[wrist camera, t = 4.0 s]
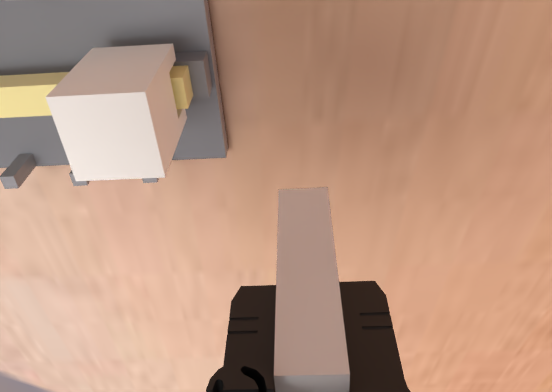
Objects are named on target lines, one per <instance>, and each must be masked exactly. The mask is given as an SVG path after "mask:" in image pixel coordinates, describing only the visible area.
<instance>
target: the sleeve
mask: <svg viewBox="0 0 552 392" xmlns="http://www.w3.org/2000/svg"><path fill="white" fill-rule="evenodd" d="M175 60H176V57H175V52H174V46H173V43H172V44H155V45H137V46H120V47H103V48H92V49H91V50H90V51H89V52H88V53H87V54H86V55H85V56H84V57H83V58H82V59H81V60H80V61H79V62H78V63H77V65H76V66H75V67H74V68H73V69H72V70H71V71H70V72H69V73H68V74H67V75H66V76H65V77H64V78H63V79H62V80H61V81H60V82H59V83H58V84H57V85H56V87H55V88H54V89H53V90H52V91H51V92H50V93H49V94H48V95H47V96H46V97H45V98H46V100H47V103H48V106H49V109H50V111H51V114H52V117H53V120H54V122H55V125H56V128H57V131H58V133H59V136H60V139H61V142H62V144H63V147H64V150H65V153H66V155H67V158H68V161H69V164H70V166H71V169H72V172H73V175H74V177H75V180H76V181H94V180H117V179H141V178H164V177H166V174H167V171H168V169H169V166H170V163H171V160H172V158H173V155H174V152H175V149H176V147H177V144H178V141H179V138H180V136H181V133H182V130H183V128H184V125H185V122H186V119H187V116H186V110H185V109H176V104H175V99H174V94H173V89H172V84H171V79H170V74H169V72H170V70H171V68H172V66H173V64H174V62H175Z"/></svg>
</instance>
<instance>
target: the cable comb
mask: <svg viewBox="0 0 552 392" xmlns="http://www.w3.org/2000/svg"><path fill="white" fill-rule="evenodd" d="M172 43H173V46H174V52H175V57H176V60H175V62H174V64H173V66H172V68H171V70H170V72H169V74H170V79H171V84H172V89H173V94H174V99H175V104H176V109H185V110H186V116H187V119H186V122H185V125H184V128H183V130H182V133H181V136H180V138H179V141H178V144H177V147H176V149H175V152H174V155H173V158H172V160H184V159H206V158H226V156H227V151H228V143H227V135H226V128H225V121H224V114H223V107H222V99H221V92H220V85H219V78H218V71H217V63H216V56H215V49H214V42H213V35H212V27H211V20H210V13H209V6H208V0H0V168H6V167H8V168H7V169H6V170H5V171H4V172H3V173H2V175H1V176H0V179H1V181H2V183H3V186H4V188H5V189H10V188H19V187H20V186H21V184H22V183H23V182H24V181H25V179H26V178H27V177H28V175H29V174H30V173H31V172H32V170H33V169H34V168H35V166H51V165H70V164H69V161H68V158H67V155H66V153H65V150H64V147H63V144H62V142H61V139H60V136H59V133H58V131H57V128H56V125H55V122H54V120H53V117H52V114H51V111H50V109H49V106H48V103H47V100H46V98H45V97H46V96H47V95H48V94H49V93H50V92H51V91H52V90H53V89H54V88H55V87H56V85H57V84H58V83H59V82H60V81H61V80H62V79H63V78H64V77H65V76H66V75H67V74H68V73H69V72H70V71H71V70H72V69H73V68H74V67H75V66H76V65H77V63H78V62H79V61H80V60H81V59H82V58H83V57H84V56H85V55H86V54H87V53H88V52H89V51H90V50H91V49H92V48H103V47H120V46H137V45H155V44H172ZM69 175H70V177H71V180H72V183H73V185H74V186H80V185H88V184H89V182H90V181H76V180H75V177H74V175H73V172H72V171H71V172H70V174H69ZM142 179H143V183H151V182H158V180H159V178H142Z"/></svg>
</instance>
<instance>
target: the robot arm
mask: <svg viewBox="0 0 552 392" xmlns="http://www.w3.org/2000/svg"><path fill="white" fill-rule="evenodd" d="M229 318H230V321H229V325H228V335H227V341H226V349H225V357H224V365H223V367H222V368H220V369H218V371H217V372H216V373H215V374H214V375H213V376H212V377H211V379H210V381H209V384H208V386H207V389H206V392H410V390H409V389H408V387H407V385H406V382H405V379H404V375H403V370H402V366H401V361H400V357H399V352H398V348H397V343H396V339H395V334H394V330H393V325H392V321H391V316H390V312H389V307H388V303H387V298H386V295H385V294H384V292H383V291H382V290H381V288H380V287H379V286H378V285H377V283H376V282H375V281H357V282H339V278H338V270H337V262H336V253H335V245H334V236H333V228H332V220H331V211H330V203H329V195H328V187H321V188H297V189H279V196H278V234H277V272H276V285H267V286H241V287H240V289H239V290H238V292H237V293H236V295H235V297H234V298H233V300H232V301H231V309H230V317H229Z"/></svg>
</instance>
